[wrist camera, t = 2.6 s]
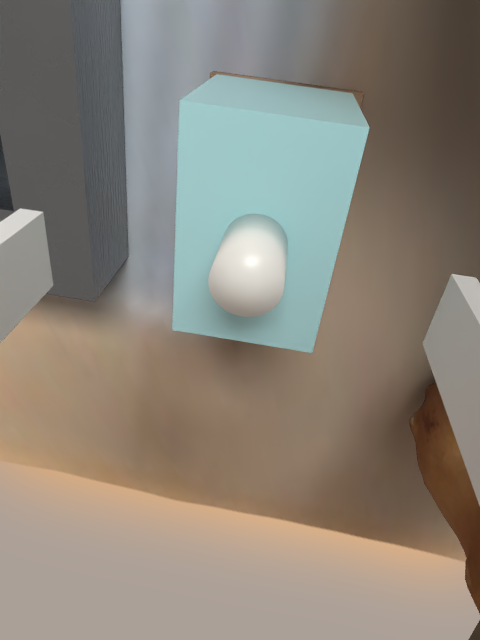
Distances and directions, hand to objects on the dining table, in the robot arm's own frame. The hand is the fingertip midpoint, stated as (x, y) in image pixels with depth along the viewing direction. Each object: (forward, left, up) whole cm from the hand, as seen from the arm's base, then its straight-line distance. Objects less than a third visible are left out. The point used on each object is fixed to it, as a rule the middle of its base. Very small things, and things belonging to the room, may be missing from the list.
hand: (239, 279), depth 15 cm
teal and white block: (0, 0, -13) cm, 13 cm away
